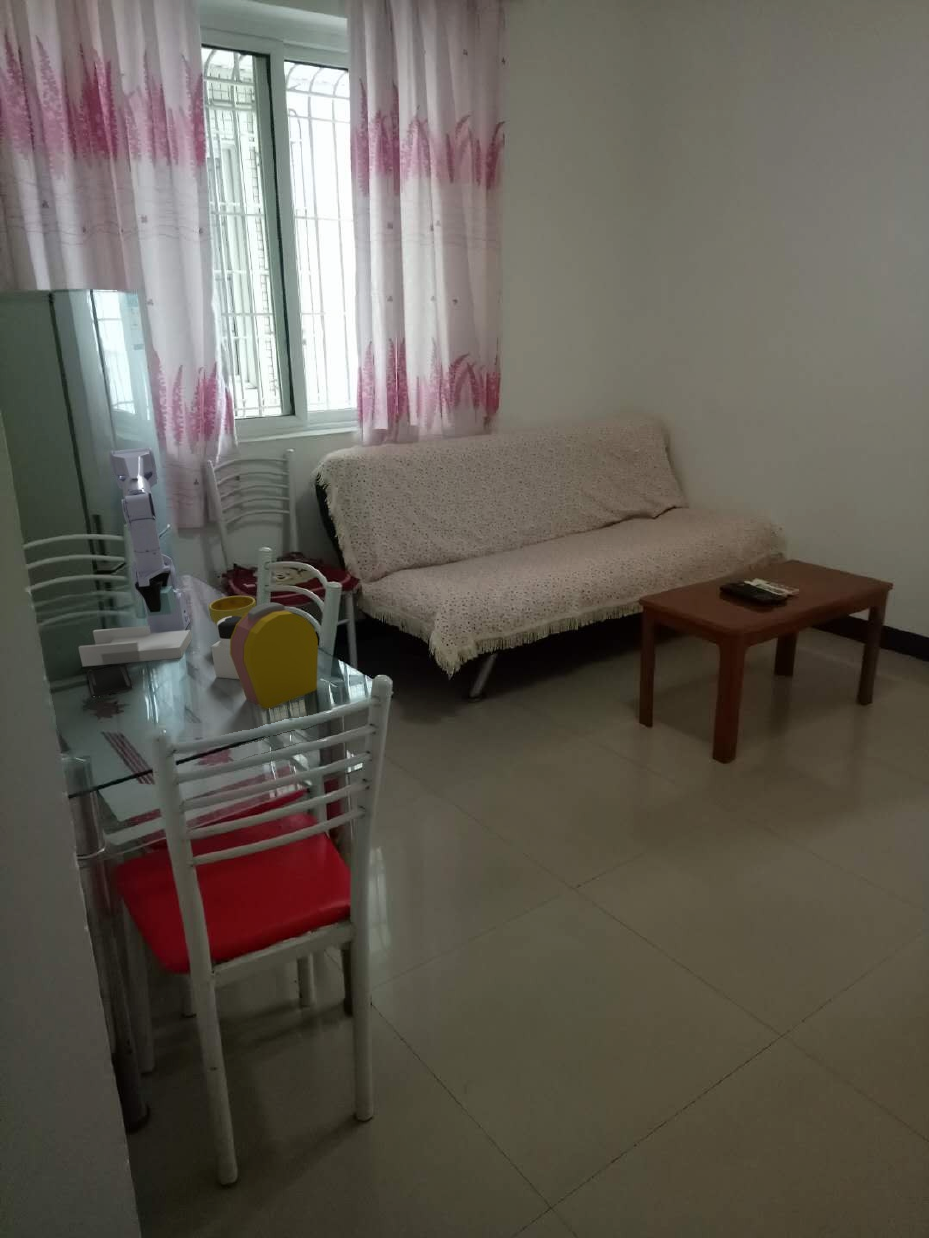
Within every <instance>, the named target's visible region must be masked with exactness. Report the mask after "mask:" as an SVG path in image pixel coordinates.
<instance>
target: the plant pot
mask: <svg viewBox="0 0 929 1238" xmlns="http://www.w3.org/2000/svg"><path fill="white" fill-rule="evenodd" d="M255 606H257V601H256V599H255V598H254V597H252V596H249V595H231V596H226V597H221V598H219V599H218V598H217V599H216V600H213V601H212V602H211V603H210V604H209V606H208V610H209V615H210V616H209V617H210V620H211V622H212V623H214V625H215V627H216V628H217V623H218V621H219V620H221V619H223V618H226V617H230V616H240V617H243V616H244V615H245V614H246V613H248V612H249V611H250V610H251V609H252V608H254V607H255Z"/></svg>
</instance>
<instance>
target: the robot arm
mask: <svg viewBox="0 0 929 1238" xmlns="http://www.w3.org/2000/svg"><path fill="white" fill-rule="evenodd" d="M108 455H109V461H110V466H111V470H112V474H113V477H114V480H115V483H116V484H117V487H118V489H120V490H122V495H123V496H122V497H123V498H122V499H121V508H122V513H123V517H124V520H125V522H126V526H127V531H128V532H129V536H130V540H131V547H132V552H133V555H134V561H133V562H132V563H131V566H130V569H131V578H132V583H133V589H134V593H135V595H137V596H138V597H141V600H142V602H143V607H144V612H145V618H146V621H147V626H148V625H149V626H150V631H151V633H161V632H172V631H184V630H186V629H187V627H188V626H189V624H190V622H191V619H190V617H189V616H190V615H189V609H188V604H187V600H186V596H185V593H184V592H177V591H178V589H179V584H178V580H177V573H176V568H175V566H174V565H175V564H174V561H173V560H172V558H171V557H169V556H168V555H166V554H163V551H162V547H161V542H160V541H161V539H160V536H159V531H158V525H157V517H158V514H157V509H156V504H155V499H154V496H153V493H152V491H151V488H153V487H154V486H155V485H157V484H158V478H159V477H158V474H157V473H158V472H157V465H156V459H155V454H154V449H153V447H152V446H147V447H138V448H129V449H120V450H113V449H112V450H110V452H109V454H108ZM166 586H173V592H174V598H175V603H176V608H175V609H174V611H173V612H172V614H167V615H154V616H148V613H147V608H146V604H147V606H148V608H149V610H150V612H160V610H161V599H160V593H161V587H166Z"/></svg>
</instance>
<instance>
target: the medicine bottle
mask: <svg viewBox="0 0 929 1238" xmlns="http://www.w3.org/2000/svg"><path fill="white" fill-rule="evenodd" d="M241 619H242V617H240V616H230V617H226V618H223V619H221V620H219V621H218V623H217V627H216V630H217V634H218V636H217V637H218V641H217V642H215V643H214V644H212V645H211V646H210V649H211V655H212V661H213V667H214V672H215V677H216V678H222V679H230V680H232V679H233V680H240V679H239V676H238V673H237V671H236V668H235V665H234V663H233V660H232V658H231V655H230V639H231V636H232V634H233V631H234V629H235V626H236V624H237V623H238V622H239V621H240V620H241Z"/></svg>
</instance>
